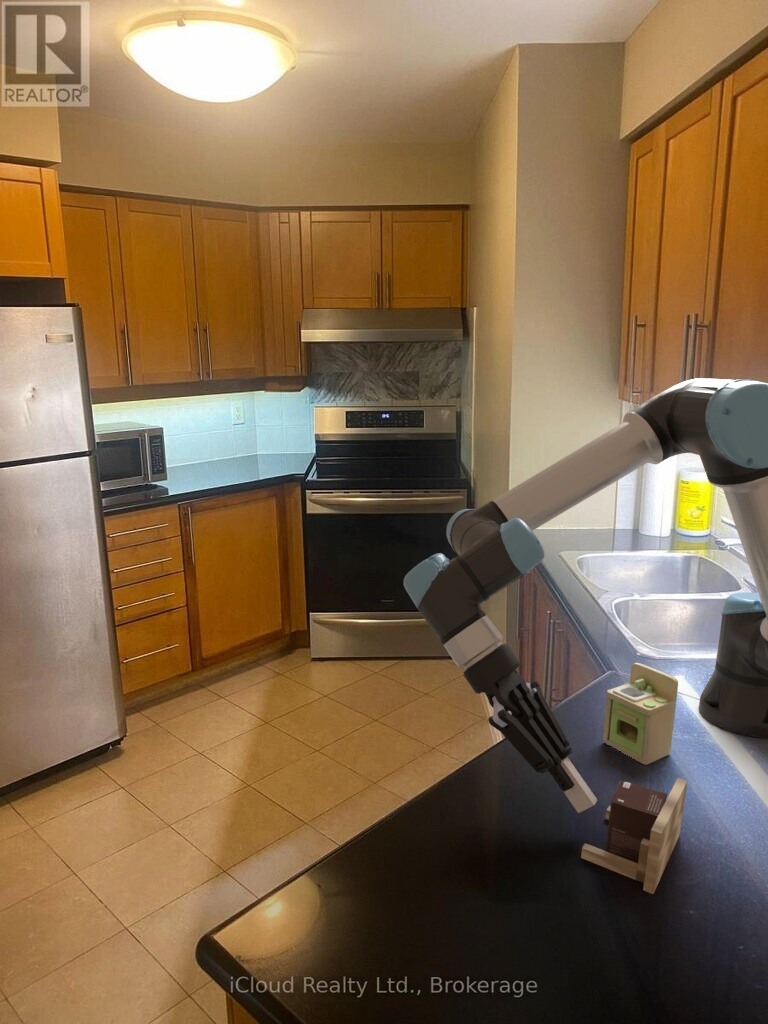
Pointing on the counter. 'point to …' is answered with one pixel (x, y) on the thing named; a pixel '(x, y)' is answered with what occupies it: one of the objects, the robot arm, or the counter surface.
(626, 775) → the counter surface
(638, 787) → the box
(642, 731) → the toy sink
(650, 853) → the rack
